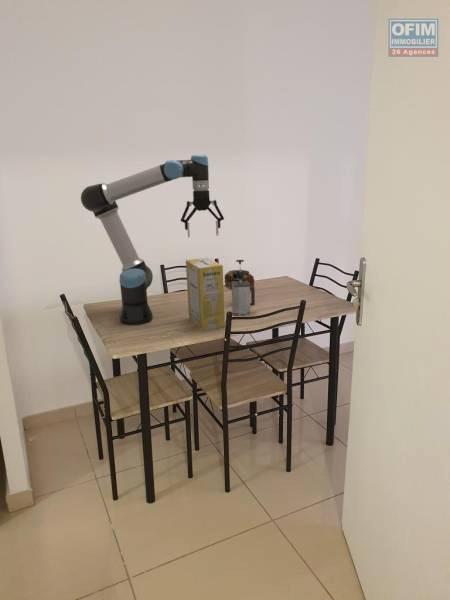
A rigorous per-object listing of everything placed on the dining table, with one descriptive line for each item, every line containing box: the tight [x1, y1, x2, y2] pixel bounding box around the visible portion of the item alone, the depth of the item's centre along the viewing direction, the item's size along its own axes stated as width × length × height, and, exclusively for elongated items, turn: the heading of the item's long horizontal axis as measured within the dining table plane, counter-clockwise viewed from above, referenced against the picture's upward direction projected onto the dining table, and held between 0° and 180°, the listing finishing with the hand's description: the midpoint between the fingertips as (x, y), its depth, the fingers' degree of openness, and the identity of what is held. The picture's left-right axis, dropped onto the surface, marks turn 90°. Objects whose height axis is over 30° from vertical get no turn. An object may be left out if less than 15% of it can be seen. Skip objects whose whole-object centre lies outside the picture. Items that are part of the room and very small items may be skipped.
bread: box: [223, 269, 255, 292], centre depth 266 cm, size 19×11×10 cm, turn 25°
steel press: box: [231, 280, 256, 317], centre depth 223 cm, size 11×8×15 cm
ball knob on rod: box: [236, 269, 245, 284], centre depth 220 cm, size 4×4×15 cm
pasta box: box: [185, 257, 226, 332], centre depth 209 cm, size 18×10×28 cm, turn 23°
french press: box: [231, 259, 250, 282], centre depth 235 cm, size 12×9×23 cm
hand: (203, 236), depth 221 cm, fingers open, 13 cm apart
